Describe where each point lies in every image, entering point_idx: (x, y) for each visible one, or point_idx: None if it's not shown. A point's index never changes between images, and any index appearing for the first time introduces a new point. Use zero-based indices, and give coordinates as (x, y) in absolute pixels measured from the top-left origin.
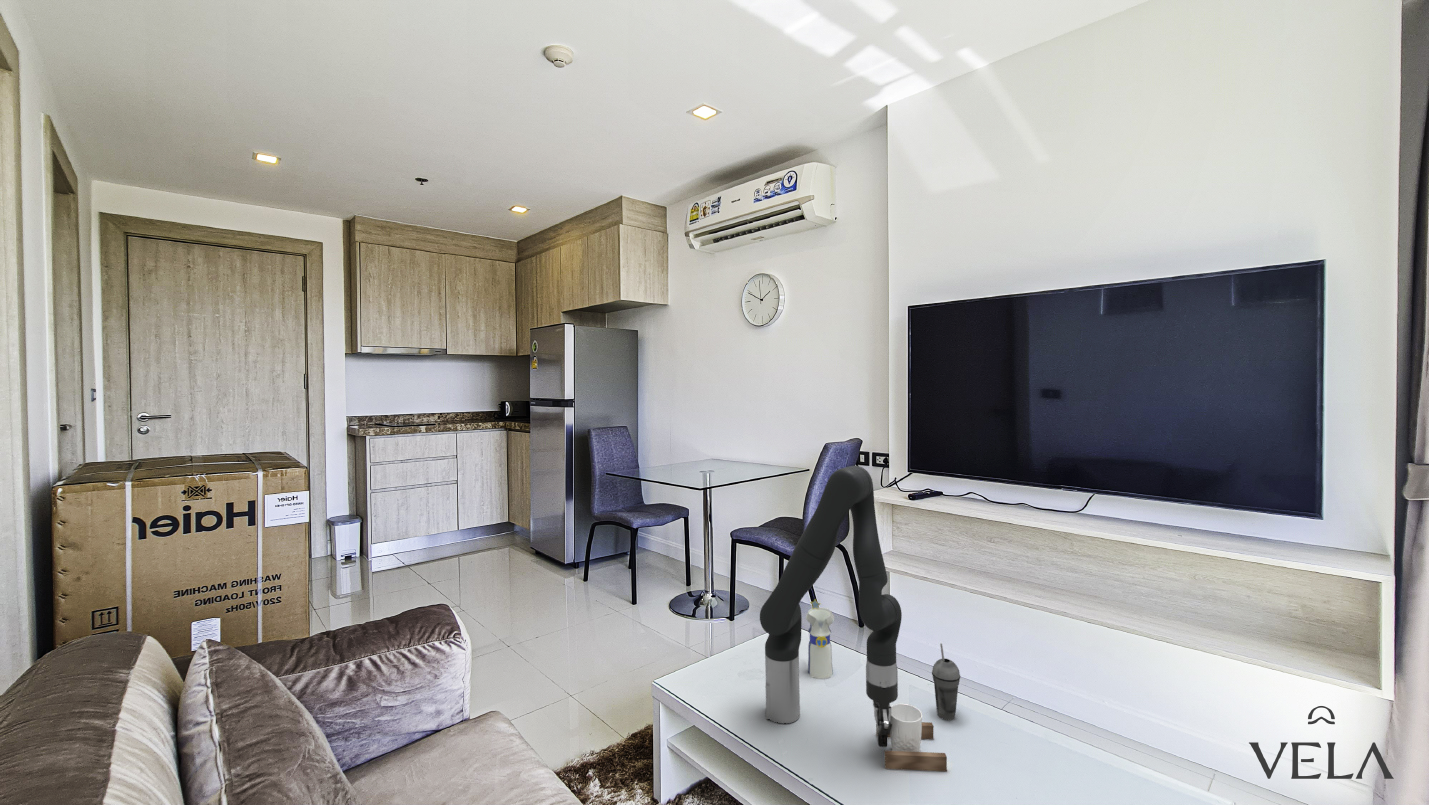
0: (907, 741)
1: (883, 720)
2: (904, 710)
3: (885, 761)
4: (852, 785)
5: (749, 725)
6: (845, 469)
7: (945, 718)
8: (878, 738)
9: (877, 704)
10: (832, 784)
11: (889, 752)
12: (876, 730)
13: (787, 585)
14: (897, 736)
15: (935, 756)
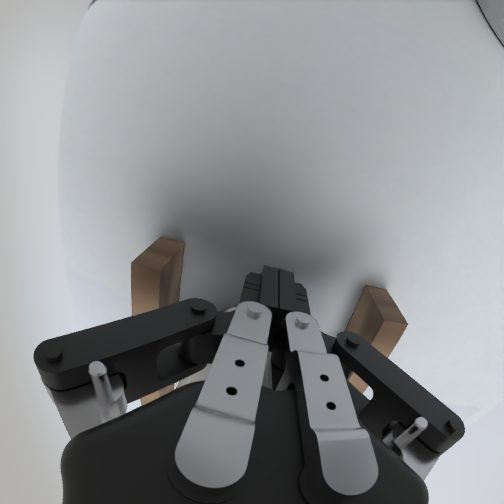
0: (177, 385)
1: (74, 397)
2: None
3: (152, 249)
4: (93, 84)
5: None
6: None
7: None
8: (262, 283)
9: (270, 494)
10: (112, 20)
11: (145, 287)
12: (388, 298)
13: None
14: (195, 373)
15: (142, 403)
